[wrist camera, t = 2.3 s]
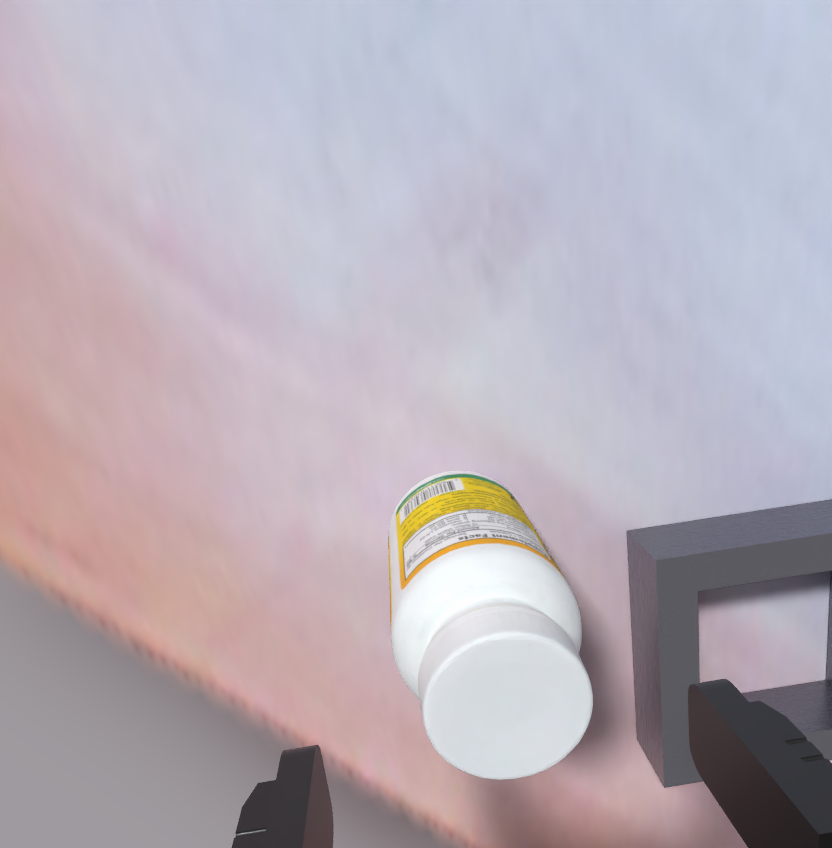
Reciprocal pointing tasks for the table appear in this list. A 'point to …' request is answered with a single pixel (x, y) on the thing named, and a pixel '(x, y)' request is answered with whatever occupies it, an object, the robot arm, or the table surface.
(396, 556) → the supplement bottle
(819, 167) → the table surface
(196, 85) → the table surface
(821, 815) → the robot arm
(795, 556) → the rail
